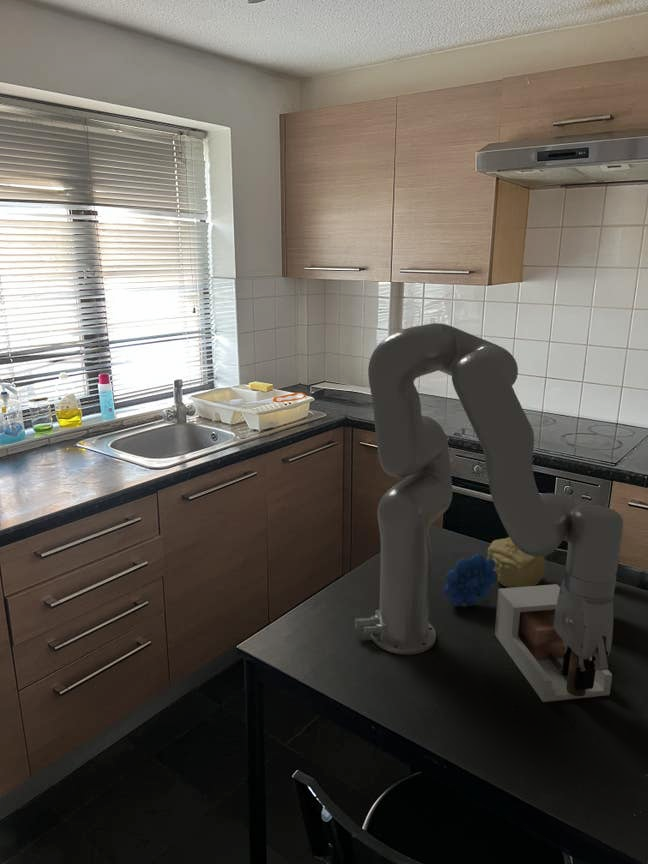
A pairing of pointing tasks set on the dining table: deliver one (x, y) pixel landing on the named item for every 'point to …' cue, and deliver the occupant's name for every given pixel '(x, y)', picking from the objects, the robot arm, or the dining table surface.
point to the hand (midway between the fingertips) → (577, 680)
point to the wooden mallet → (548, 644)
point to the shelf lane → (536, 671)
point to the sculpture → (515, 565)
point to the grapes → (470, 580)
